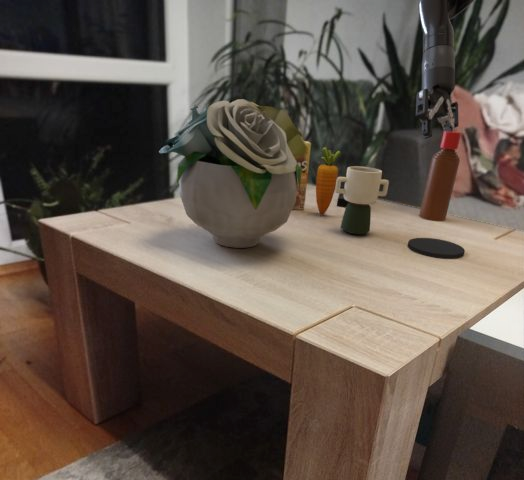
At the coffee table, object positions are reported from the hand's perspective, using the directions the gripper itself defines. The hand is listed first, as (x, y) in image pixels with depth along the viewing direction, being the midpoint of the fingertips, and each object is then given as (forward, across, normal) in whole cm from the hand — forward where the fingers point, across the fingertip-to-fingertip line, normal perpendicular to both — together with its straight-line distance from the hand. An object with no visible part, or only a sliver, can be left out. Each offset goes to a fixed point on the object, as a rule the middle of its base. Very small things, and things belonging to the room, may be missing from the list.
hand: (437, 141), depth 122 cm
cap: (+3, -2, -4) cm, 5 cm away
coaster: (+29, -21, -13) cm, 38 cm away
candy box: (+15, -29, +23) cm, 40 cm away
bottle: (+18, +1, +2) cm, 18 cm away
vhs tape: (+12, -7, +21) cm, 25 cm away
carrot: (+18, -25, +14) cm, 34 cm away
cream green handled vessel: (+24, -28, +2) cm, 37 cm away
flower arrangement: (+28, -55, +7) cm, 62 cm away
